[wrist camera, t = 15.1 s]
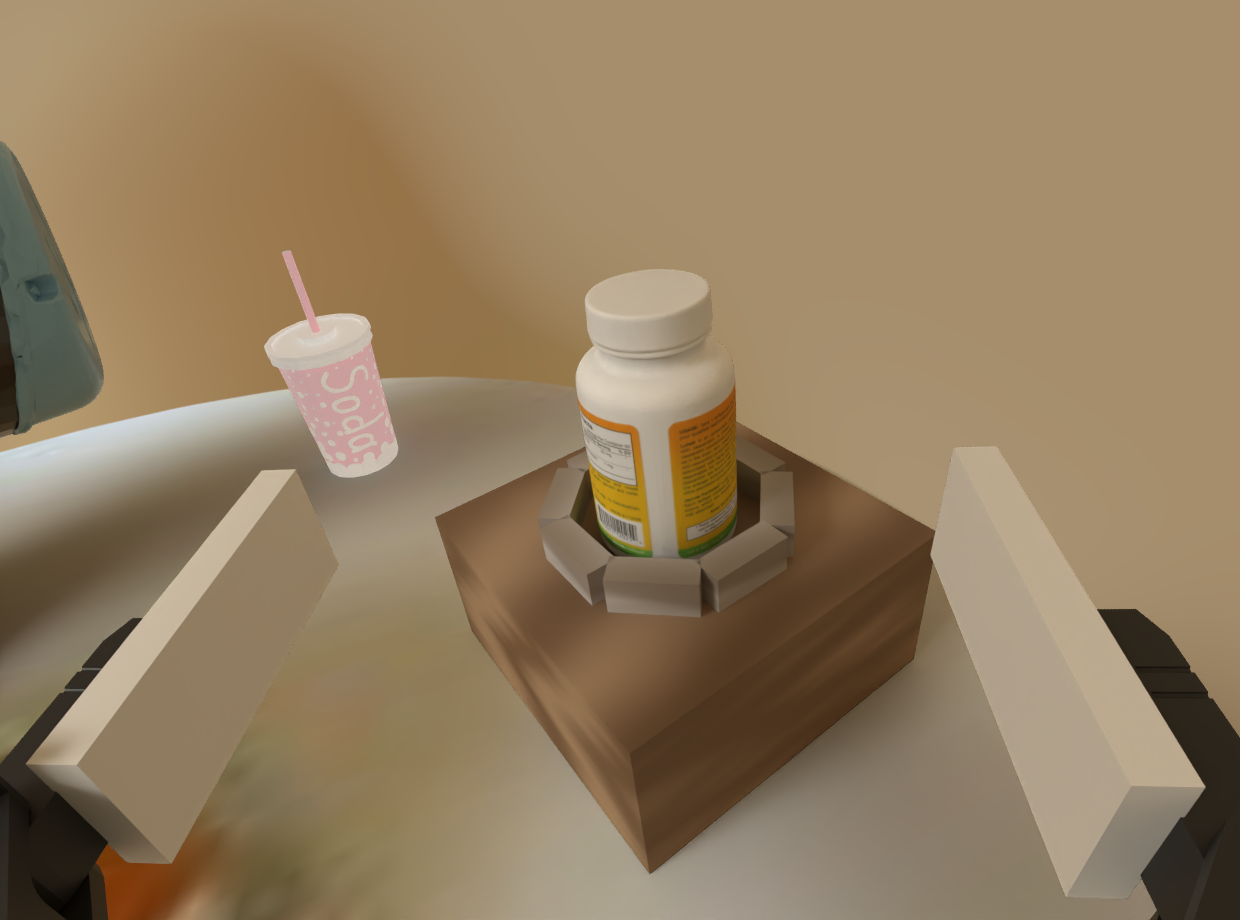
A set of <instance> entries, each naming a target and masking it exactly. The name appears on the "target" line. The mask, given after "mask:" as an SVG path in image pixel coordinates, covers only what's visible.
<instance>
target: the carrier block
mask: <svg viewBox="0 0 1240 920" xmlns="http://www.w3.org/2000/svg"><path fill="white" fill-rule="evenodd" d="M736 469H737V523H736V528H735V531H734V533H733V536H732V538H731V539H730V540H729V541H728V542H726V543H724V544H723V545H721V546H719V547H718V548H716V549H714V550H713V551H711V552H709V553H708V554H706V555H704V556H703V557H701V558H699V559H698V560H695V559H670V558H645V557H620V556H616V555H615V554H614V553H613V552H612V551H611V550H610V549H609V548H608V547H607V545H606V544H605V542H604V540H603V538H602V536H601V533H600V529H599V524H598V520H597V514H596V508H595V501H594V495H593V489H592V483H591V477H590V471H589V464H588V458H587V452H586V447H584V448H582V449H579V450H577V451H575V452H573V453H571V454H569V455H567V456H565V457H562V458H560V459H558V460H556V461H554V462H552V463H550V464H548V465H546V466H543V467H541V468H539V469H537V470H535V471H533V472H531V473H529V474H526V475H524V476H522V477H520V478H518V479H516V480H514V481H512V482H509V483H507V484H505V485H503V486H501V487H499V488H497V489H495V490H492V491H490V492H488V493H486V494H484V495H482V496H480V497H478V498H475V499H473V500H471V501H469V502H467V503H465V504H463V505H461V506H458V507H456V508H454V509H452V510H450V511H448V512H446V513H444V514H442V515H439V516H437V517H435V519H436V522H437V525H438V528H439V531H440V535H441V538H442V541H443V544H444V547H445V550H446V553H447V556H448V559H449V562H450V565H451V568H452V571H453V574H454V577H455V580H456V583H457V587H458V590H459V593H460V596H461V599H462V602H463V605H464V608H465V611H466V614H467V617H468V620H469V623H470V626H471V629H472V632H473V633H474V634H475V636H476V637H477V638H478V640H479V641H480V642H481V644H482V645H483V647H484V648H485V649H486V651H487V652H488V653H489V655H490V656H491V658H492V659H493V660H494V662H495V663H496V664H497V666H498V667H499V668H500V670H501V671H502V673H503V674H504V675H505V677H506V678H507V679H508V681H509V682H510V684H511V685H512V686H513V688H514V689H515V690H516V692H517V693H518V694H519V696H520V697H521V699H522V700H523V701H524V703H525V704H526V705H527V707H528V708H529V710H530V711H531V712H532V714H533V715H534V716H535V718H536V719H537V720H538V722H539V723H540V725H541V726H542V727H543V729H544V730H545V731H546V733H547V734H548V736H549V737H550V738H551V740H552V741H553V742H554V744H555V745H556V746H557V748H558V749H559V751H560V752H561V753H562V755H563V756H564V757H565V759H566V760H567V762H568V763H569V764H570V766H571V767H572V768H573V770H574V771H575V772H576V774H577V775H578V777H579V778H580V779H581V781H582V782H583V783H584V785H585V786H586V788H587V789H588V790H589V792H590V793H591V794H592V796H593V797H594V798H595V800H596V801H597V803H598V804H599V805H600V807H601V808H602V809H603V811H604V812H605V814H606V815H607V816H608V818H609V819H610V820H611V822H612V823H613V824H614V826H615V827H616V829H617V830H618V831H619V833H620V834H621V835H622V837H623V838H624V840H625V841H626V842H627V844H628V845H629V846H630V848H631V849H632V850H633V852H634V853H635V855H636V856H637V857H638V859H639V860H640V861H641V863H642V864H643V866H644V867H645V868H646V870H647V871H648V872H649V874H650V873H651V872H653V871H654V870H655V869H656V868H658V867H659V866H660V865H661V864H663V863H664V862H665V861H666V860H667V859H669V858H670V857H671V856H672V855H674V854H675V853H676V852H677V851H678V850H680V849H681V848H682V847H683V846H685V845H686V844H687V843H688V842H690V841H691V840H692V839H693V838H694V837H696V836H697V835H698V834H699V833H701V832H702V831H703V830H704V829H705V828H707V827H708V826H709V825H710V824H712V823H713V822H714V821H715V820H716V819H718V818H719V817H720V816H721V815H723V814H724V813H725V812H726V811H728V810H729V809H730V808H731V807H732V806H734V805H735V804H736V803H737V802H739V801H740V800H741V799H742V798H743V797H745V796H746V795H747V794H748V793H750V792H751V791H752V790H753V789H754V788H756V787H757V786H758V785H759V784H761V783H762V782H763V781H764V780H766V779H767V778H768V777H769V776H770V775H772V774H773V773H774V772H775V771H777V770H778V769H779V768H780V767H781V766H783V765H784V764H785V763H786V762H788V761H789V760H790V759H791V758H793V757H794V756H795V755H796V754H797V753H799V752H800V751H801V750H802V749H804V748H805V747H806V746H807V745H808V744H810V743H811V742H812V741H813V740H815V739H816V738H817V737H818V736H819V735H821V734H822V733H823V732H824V731H826V730H827V729H828V728H829V727H831V726H832V725H833V724H834V723H835V722H837V721H838V720H839V719H840V718H842V717H843V716H844V715H845V714H846V713H848V712H849V711H850V710H851V709H853V708H854V707H855V706H856V705H858V704H859V703H860V702H861V701H862V700H864V699H865V698H866V697H867V696H869V695H870V694H871V693H872V692H873V691H875V690H876V689H877V688H878V687H880V686H881V685H882V684H883V683H884V682H886V681H887V680H888V679H889V678H891V677H892V676H893V675H894V674H896V673H897V672H898V671H899V670H900V669H902V668H903V667H904V666H905V665H907V664H908V663H909V662H910V661H911V660H913V659H914V654H915V649H916V644H917V639H918V634H919V629H920V624H921V619H922V614H923V609H924V604H925V599H926V594H927V589H928V584H929V579H930V574H931V569H932V563H933V560H932V558H931V555H930V554H931V550H932V545H933V540H934V536H935V531H934V530H932V529H930V528H929V527H927V526H925V525H923V524H921V523H920V522H918V521H916V520H914V519H912V518H911V517H909V516H907V515H905V514H903V513H901V512H900V511H898V510H896V509H894V508H892V507H891V506H889V505H887V504H885V503H883V502H881V501H880V500H878V499H876V498H874V497H872V496H871V495H869V494H867V493H865V492H863V491H861V490H860V489H858V488H856V487H854V486H852V485H851V484H849V483H847V482H845V481H843V480H841V479H840V478H838V477H836V476H834V475H832V474H831V473H829V472H827V471H825V470H823V469H822V468H820V467H818V466H816V465H814V464H812V463H811V462H809V461H807V460H805V459H803V458H802V457H800V456H798V455H796V454H794V453H792V452H791V451H789V450H787V449H785V448H783V447H782V446H780V445H778V444H776V443H774V442H772V441H770V440H769V439H767V438H765V437H763V436H762V435H760V434H758V433H756V432H754V431H753V430H751V429H749V428H747V427H745V426H743V425H742V424H740V423H738V422H736Z"/></svg>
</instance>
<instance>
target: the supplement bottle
mask: <svg viewBox="0 0 1240 920" xmlns="http://www.w3.org/2000/svg"><path fill="white" fill-rule="evenodd" d="M585 307H586V318H587V329H588V334H589V336H590V338H591V341H592V343H593V345H594V346H593V347H592V348H591V349H590V350H589V351H587V353H586V354H585V355H584V356H583V358H582V359H581V361H580V363H579V365H578V369H577V373H576V389H577V398H578V404H579V410H580V415H581V421H582V428H583V434H584V440H585V446H586V452H587V458H588V464H589V471H590V477H591V483H592V489H593V495H594V501H595V508H596V514H597V520H598V524H599V529H600V533H601V536H602V538H603V540H604V542H605V544H606V545H607V547H608V548H609V549H610V550H611V551H612V552H613V553H614V554H615V555H616V556H620V557H645V558H670V559H695V560H698V559H699V558H701V557H703V556H704V555H706V554H708V553H709V552H711V551H713V550H714V549H716V548H718V547H719V546H721V545H723V544H724V543H726V542H728V541H729V540H730V539H731V538H732V536H733V533H734V531H735V528H736V523H737V469H736V401H735V377H734V365H733V362H732V359H731V356H730V354H729V353H728V351H727V350H726V349H725V347H724V346H723V345H722V344H720V342H719V341H717V340H716V339H715V338H713V337H711V336H710V335H709V334H710V332H711V329H712V324H711V323H712V306H711V291H710V286H709V284H708V282H707V281H706V280H705V279H704V278H702V277H701V276H699V275H696V274H693V273H690V272H687V271H681V270H672V269H651V270H642V271H635V272H630V273H626V274H621V275H618V276H615V277H612V278H609V279H607V280H604V281H602V282H600V283H599V284H597V285H595V286H594V287H593V288H592V289H590V291H589V292H588V293H587V295H586V298H585Z"/></svg>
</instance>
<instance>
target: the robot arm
mask: <svg viewBox="0 0 1240 920" xmlns="http://www.w3.org/2000/svg"><path fill="white" fill-rule="evenodd" d="M103 380H104V374H103V366H102V362H101V359H100V356H99V352H98V349H97V346H96V343H95V340H94V337H93V334H92V332H91V329H90V326H89V323H88V321H87V318H86V315H85V313H84V310H83V307H82V305H81V302H80V300H79V297H78V295H77V292H76V289H75V287H74V285H73V282H72V279H71V277H70V274H69V272H68V270H67V267H66V265H65V262H64V260H63V258H62V255H61V253H60V250H59V248H58V246H57V243H56V241H55V239H54V236H53V234H52V232H51V229H50V227H49V225H48V223H47V220H46V218H45V216H44V213H43V211H42V209H41V207H40V204H39V202H38V200H37V198H36V196H35V194H34V191H33V189H32V187H31V185H30V183H29V181H28V179H27V177H26V175H25V173H24V171H23V169H22V167H21V165H20V163H19V161H18V160H17V158H16V156H15V155H14V154H13V152H12V151H11V150H10V149H9V148H8V147H7V146H6V144H5V143H3V142H2V141H0V437H4V436H7V435H11V434H14V435H18V434H22V433H26V432H27V431H28V430H30V428H31V427H32V425H35V424H38V423H41V422H44V421H46V420H49V419H52V418H55V417H58V416H61V415H64V414H67V413H69V412H72V411H75V410H78V409H80V408H83V407H85V406H86V405H88V404H90V403H91V402H92V401H93V400H94V399H95V398H96V397H97V396H98V394H99V393H100V391H101V389H102V386H103ZM930 555H931V558H932V560H933V563H934V565H935V568H936V570H937V573H938V575H939V578H940V581H941V583H942V586H943V588H944V591H945V593H946V596H947V598H948V601H949V603H950V606H951V608H952V611H953V613H954V616H955V618H956V621H957V623H958V626H959V629H960V631H961V634H962V636H963V639H964V641H965V644H966V646H967V649H968V651H969V654H970V656H971V659H972V661H973V664H974V666H975V669H976V672H977V674H978V677H979V679H980V682H981V684H982V687H983V689H984V692H985V694H986V697H987V699H988V702H989V704H990V707H991V709H992V712H993V715H994V717H995V720H996V722H997V725H998V727H999V730H1000V732H1001V735H1002V737H1003V740H1004V742H1005V745H1006V747H1007V750H1008V752H1009V755H1010V757H1011V760H1012V763H1013V765H1014V768H1015V770H1016V773H1017V775H1018V778H1019V780H1020V783H1021V785H1022V788H1023V790H1024V793H1025V795H1026V798H1027V800H1028V803H1029V806H1030V808H1031V811H1032V813H1033V816H1034V818H1035V821H1036V823H1037V826H1038V828H1039V831H1040V833H1041V836H1042V838H1043V841H1044V843H1045V846H1046V848H1047V851H1048V854H1049V856H1050V859H1051V861H1052V864H1053V866H1054V869H1055V871H1056V874H1057V876H1058V879H1059V881H1060V884H1061V886H1062V889H1063V891H1064V894H1065V897H1076V898H1103V899H1128V897H1129V896H1130V894H1131V893H1132V891H1133V890H1134V889H1135V887H1136V886H1137V884H1138V883H1139V882H1140V880H1141V879H1142V880H1143V882H1144V884H1145V886H1146V888H1147V890H1148V892H1149V894H1150V896H1151V898H1152V901H1153V903H1154V905H1155V907H1156V909H1157V911H1156V912H1155V914H1154V915H1153V916H1152V918H1151V919H1150V920H1240V737H1239V736H1238V735H1237V733H1236V732H1235V730H1234V729H1233V728H1232V726H1231V724H1230V723H1229V722H1228V720H1227V719H1226V718H1225V716H1224V714H1223V713H1222V711H1221V710H1220V709H1219V707H1218V706H1217V704H1216V703H1215V701H1214V700H1213V699H1210V698H1209V697H1208V691H1207V690H1206V688H1205V687H1204V685H1203V684H1202V683H1201V681H1200V680H1199V678H1198V677H1197V675H1196V674H1195V673H1192V672H1191V671H1190V665H1189V664H1188V662H1187V661H1186V659H1185V658H1184V657H1183V655H1182V654H1181V652H1180V651H1179V649H1178V648H1177V647H1176V645H1175V644H1174V642H1173V641H1172V639H1171V638H1170V636H1169V635H1168V634H1166V633H1165V632H1164V631H1162V630H1161V629H1160V628H1159V627H1158V626H1156V625H1155V624H1154V623H1153V622H1151V621H1150V620H1149V619H1148V618H1146V617H1145V616H1144V615H1143V614H1141V613H1140V612H1139V611H1138V610H1136V609H1096V607H1095V606H1094V604H1093V602H1092V601H1091V599H1090V598H1089V596H1088V594H1087V593H1086V591H1085V590H1084V588H1083V586H1082V585H1081V583H1080V581H1079V580H1078V578H1077V576H1076V575H1075V573H1074V571H1073V570H1072V568H1071V567H1070V565H1069V563H1068V562H1067V560H1066V558H1065V557H1064V555H1063V553H1062V552H1061V550H1060V549H1059V547H1058V545H1057V544H1056V542H1055V540H1054V539H1053V537H1052V536H1051V534H1050V532H1049V531H1048V529H1047V527H1046V526H1045V524H1044V523H1043V521H1042V519H1041V518H1040V516H1039V514H1038V513H1037V511H1036V509H1035V508H1034V506H1033V505H1032V503H1031V501H1030V500H1029V498H1028V496H1027V495H1026V493H1025V491H1024V490H1023V488H1022V487H1021V485H1020V483H1019V482H1018V480H1017V478H1016V477H1015V475H1014V474H1013V472H1012V470H1011V469H1010V467H1009V465H1008V464H1007V462H1006V460H1005V459H1004V457H1003V455H1002V454H1001V452H1000V451H999V449H998V447H997V446H978V447H954V448H953V452H952V457H951V461H950V466H949V471H948V475H947V480H946V485H945V489H944V494H943V498H942V503H941V508H940V512H939V517H938V522H937V526H936V531H935V536H934V540H933V545H932V550H931V554H930ZM338 565H339V564H338V562H337V560H336V557H335V555H334V553H333V551H332V548H331V546H330V544H329V542H328V540H327V537H326V535H325V533H324V531H323V528H322V526H321V524H320V522H319V519H318V517H317V515H316V513H315V511H314V508H313V506H312V504H311V502H310V499H309V497H308V495H307V493H306V491H305V488H304V486H303V484H302V482H301V479H300V477H299V475H298V473H297V470H296V469H289V470H262V471H261V472H260V473H259V474H258V476H257V477H256V478H255V479H254V481H253V482H252V483H251V484H250V486H249V487H248V488H247V489H246V491H245V492H244V493H243V494H242V496H241V497H240V498H239V499H238V501H237V502H236V503H235V504H234V506H233V507H232V508H231V509H230V511H229V512H228V513H227V514H226V516H225V517H224V518H223V519H222V520H221V522H220V523H219V524H218V525H217V527H216V528H215V529H214V530H213V532H212V533H211V534H210V535H209V537H208V538H207V539H206V540H205V542H204V543H203V544H202V545H201V547H200V548H199V549H198V550H197V552H196V553H195V554H194V555H193V557H192V558H191V559H190V560H189V561H188V563H187V564H186V565H185V566H184V568H183V569H182V570H181V571H180V573H179V574H178V575H177V576H176V578H175V579H174V580H173V581H172V583H171V584H170V585H169V586H168V588H167V589H166V590H165V591H164V593H163V594H162V595H161V596H160V598H159V599H158V600H157V601H156V603H155V604H154V605H153V606H152V607H151V609H150V610H149V611H148V612H147V614H146V615H145V616H144V617H143V618H132V619H131V620H130V621H129V622H127V623H126V624H125V625H123V626H122V627H121V628H119V629H118V630H117V631H116V632H114V633H113V634H112V635H110V636H109V637H108V638H107V639H105V640H104V641H103V642H102V643H101V644H100V646H99V647H98V648H97V649H96V650H95V652H94V653H93V654H92V655H91V656H90V658H89V659H88V660H87V661H86V662H85V664H84V665H83V666H82V671H81V672H77V673H76V674H75V676H74V677H73V678H72V679H71V680H70V682H69V683H68V684H67V685H66V686H65V691H64V693H60V694H59V695H58V696H57V697H56V698H55V700H54V701H53V702H52V703H51V704H50V706H49V707H48V708H47V709H46V710H45V711H44V713H43V714H42V715H41V716H40V717H39V719H38V720H37V721H36V722H35V723H34V725H33V726H32V727H31V728H30V729H29V731H28V732H27V733H26V734H25V735H24V737H23V738H22V739H21V740H20V741H19V743H18V744H17V745H16V746H15V747H14V749H13V750H12V751H11V752H10V753H9V755H8V756H7V757H6V758H5V759H4V761H3V762H2V763H1V764H0V920H108V913H107V903H106V893H105V883H104V876H103V874H102V872H101V869H100V867H99V866H98V865H97V864H96V863H95V862H96V861H97V859H98V858H99V856H100V854H101V853H102V851H103V850H104V848H105V847H106V845H107V844H108V845H110V846H111V847H112V848H113V849H114V850H115V851H116V852H117V853H118V854H119V855H120V856H121V857H122V858H123V859H124V860H125V861H126V862H134V863H161V864H172V862H173V860H174V858H175V857H176V855H177V853H178V851H179V849H180V848H181V846H182V844H183V842H184V840H185V839H186V837H187V835H188V833H189V832H190V830H191V828H192V826H193V824H194V823H195V821H196V819H197V817H198V815H199V814H200V812H201V810H202V808H203V806H204V805H205V803H206V801H207V799H208V798H209V796H210V794H211V792H212V790H213V789H214V787H215V785H216V783H217V781H218V780H219V778H220V776H221V774H222V773H223V771H224V769H225V767H226V765H227V764H228V762H229V760H230V758H231V756H232V755H233V753H234V751H235V749H236V748H237V746H238V744H239V742H240V740H241V739H242V737H243V735H244V733H245V731H246V730H247V728H248V726H249V724H250V722H251V721H252V719H253V717H254V715H255V714H256V712H257V710H258V708H259V706H260V705H261V703H262V701H263V699H264V697H265V696H266V694H267V692H268V690H269V689H270V687H271V685H272V683H273V681H274V680H275V678H276V676H277V674H278V672H279V671H280V669H281V667H282V665H283V663H284V662H285V660H286V658H287V656H288V655H289V653H290V651H291V649H292V647H293V646H294V644H295V642H296V640H297V638H298V637H299V635H300V633H301V631H302V630H303V628H304V626H305V624H306V622H307V621H308V619H309V617H310V615H311V613H312V612H313V610H314V608H315V606H316V604H317V603H318V601H319V599H320V597H321V596H322V594H323V592H324V590H325V588H326V587H327V585H328V583H329V581H330V579H331V578H332V576H333V574H334V572H335V571H336V569H337V567H338Z"/></svg>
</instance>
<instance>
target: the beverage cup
mask: <svg viewBox="0 0 1240 920" xmlns="http://www.w3.org/2000/svg"><path fill="white" fill-rule="evenodd" d="M282 254H283V257H284V260H285V262H286V265H287V267H288V270H289V273H290V275H291V278H292V281H293V283H294V286H295V288H296V291H297V294H298V296H299V299H300V301H301V304H302V307H303V309H304V312H305V315H306V317H307V320H304V321H301V322H298V323H296V324H293V325H291V326H289V327H287V328H284V329H282V330H281V331H279V332H278V333H276V334H275V335H273V336H272V337H270V339H269V340H268V342H267V343H266V344H265V346H264V347H265V350H266V353H267V355H268V358H270V360H271V363H272V365H273V366H275V367H278V368H279V370H280V372H281V374H282V376H283V378H284V380H285V381H286V383H287V385H288V388H289V390H290V392H291V394H292V396H293V398H294V400H295V402H296V404H297V406H298V408H299V410H300V412H301V413H302V415H303V417H304V419H305V421H306V423H307V425H308V427H309V429H310V431H311V433H312V435H313V437H314V439H315V441H316V443H317V445H318V447H319V449H320V451H321V453H322V455H323V457H324V459H325V461H326V463H327V465H328V467H329V469H330V471H331V473H333V474H335V475H337V476H339V477H349V478H352V477H358V476H364V475H367V474H370V473H373V472H376V471H378V470H380V469H382V468H383V467H385V466H386V465H388V464H390V463H391V461H392V460H393V459H394V458H395V457H396V456H397V452H398V445H397V441H396V437H395V433H394V429H393V426H392V422H391V418H390V414H389V410H388V407H387V403H386V399H385V395H384V391H383V388H382V384H381V380H380V377H379V372H378V369H377V365H376V361H375V357H374V354H373V350H372V346H371V339H372V336H373V334H372V333H371V331H370V328H371V326H370V323H369V322H368V320H367V319H366V318H365V317H363V316H359V315H356V314H332V315H325V316H318V317H315V315H314V312H313V310H312V307H311V304H310V301H309V299H308V296H307V293H306V291H305V288H304V285H303V283H302V280H301V277H300V275H299V272H298V269H297V267H296V264H295V261H294V259H293V256H292V254H291V251H284V252H282Z"/></svg>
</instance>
